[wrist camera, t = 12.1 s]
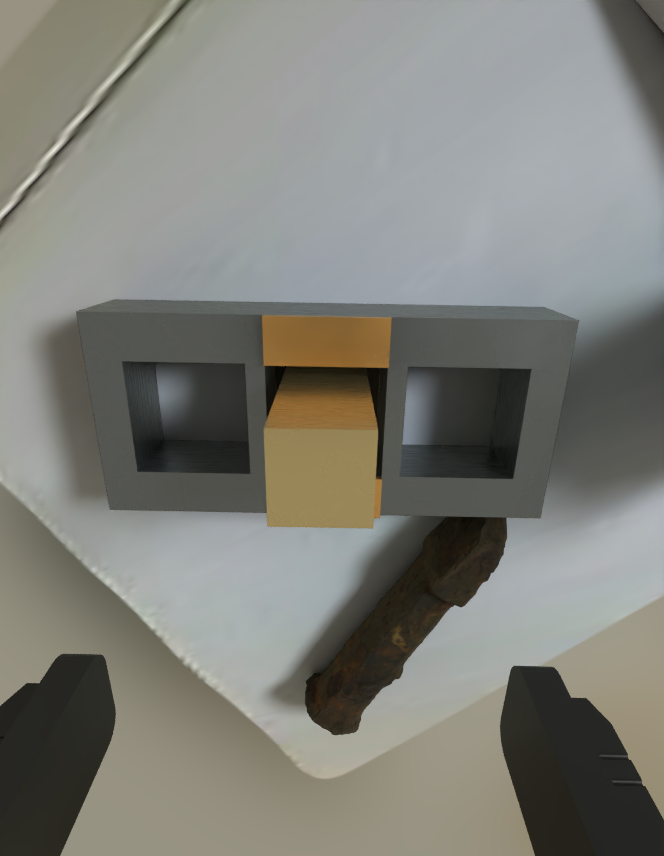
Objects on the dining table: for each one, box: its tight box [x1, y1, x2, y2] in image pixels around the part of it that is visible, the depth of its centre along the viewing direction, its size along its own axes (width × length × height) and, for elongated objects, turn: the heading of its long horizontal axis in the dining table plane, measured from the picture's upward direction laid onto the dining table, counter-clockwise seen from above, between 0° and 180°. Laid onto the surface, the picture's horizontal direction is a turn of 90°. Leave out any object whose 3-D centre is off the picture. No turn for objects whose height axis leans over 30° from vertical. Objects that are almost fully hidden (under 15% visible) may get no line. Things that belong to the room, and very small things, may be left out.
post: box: [264, 366, 378, 528], centre depth 23 cm, size 4×4×10 cm
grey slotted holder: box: [76, 300, 579, 518], centre depth 26 cm, size 10×22×4 cm, turn 89°
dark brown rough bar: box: [305, 516, 507, 735], centre depth 31 cm, size 19×4×5 cm, turn 147°
